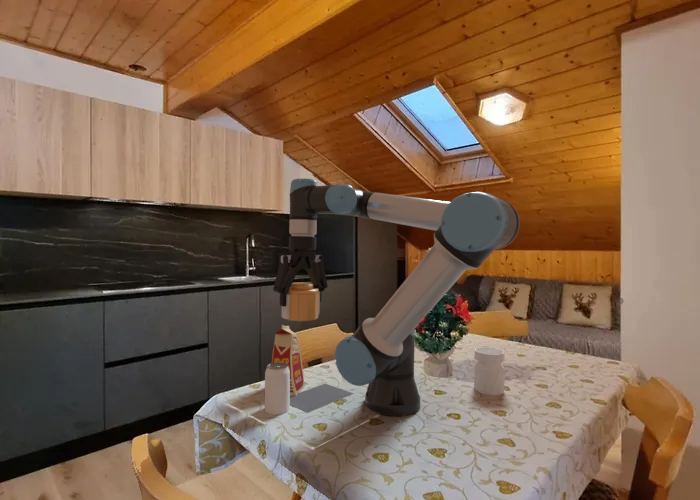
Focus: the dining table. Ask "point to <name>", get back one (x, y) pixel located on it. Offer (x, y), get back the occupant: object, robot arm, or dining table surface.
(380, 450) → the dining table surface
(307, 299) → the wooden octagonal canister
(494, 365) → the pill bottle
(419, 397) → the robot arm
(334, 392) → the mat
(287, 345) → the milk carton
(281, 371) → the can
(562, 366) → the dining table surface
